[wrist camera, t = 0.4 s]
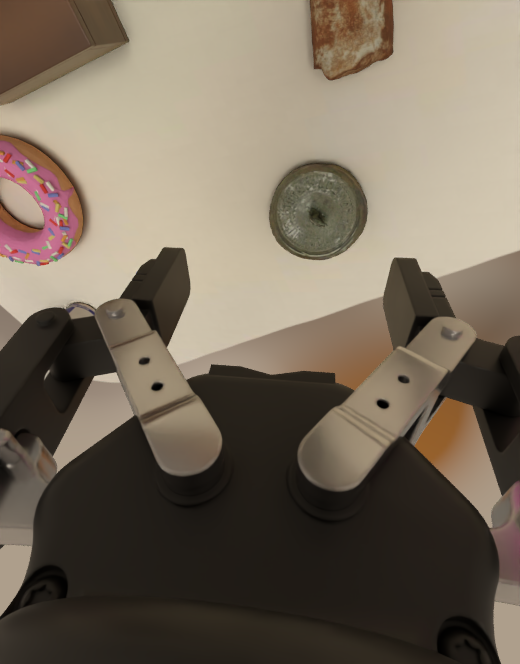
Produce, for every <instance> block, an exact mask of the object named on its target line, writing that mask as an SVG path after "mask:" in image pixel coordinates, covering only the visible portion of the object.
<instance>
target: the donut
mask: <svg viewBox="0 0 520 664" xmlns="http://www.w3.org/2000/svg"><path fill="white" fill-rule="evenodd" d="M0 177H2V178H6V179H9V180H11V181H13V182H15V183H17V184H19V185H20V186H22V187H23V188H24V189H25V190H26V191H28V192H29V193H30V194H31V195H32V196H33V198H34V199H35V200H36V201H37V203H38V205H39V206H40V208H41V210H42V212H43V215H44V220H45V225H44V228H43V229H42V230H38V229H34V228H30V227H28V226H26V225H23V224H21V223H20V222H18V221H17V220H15V219H14V218H13V217H12V216H11V215H9V214H8V213H7V212H6V210H5V209H4V208H3V207H2V206H1V204H0V256H2V257H6V258H7V257H8V258H9V259H10V260H11V261H12V262H13V261H14V260H15V262H18V263H24V262H26V263H31V264H37V265H38V266H40V265H46V264H49V262H52V261H55V262H56V261H58V260H59V259H60V258H62V257H64V256H65V255H67V254H68V253H69V252H71V251H72V249H73V248H74V247H75V246H76V245H77V243H78V241H79V239H80V236H81V233H82V228H83V215H82V209H81V205H80V201H79V198H78V196H77V194H76V192H75V190H74V187H73V186H72V184H71V183H70V181H69V180H68V178H67V177H66V176H65V174H64V173H63V172H62V171H61V169H60V168H59V167H58V166H57V165H56V164H55V163H54V162H53V161H52V160H51V159H50V158H49V157H47V156H46V155H45V154H44V153H42V152H41V151H40V150H38V149H37V148H35V147H33V146H32V145H30V144H27V143H25V142H23V141H21V140H18V139H15V138H12V137H8V136H4V135H0ZM13 259H14V260H13Z"/></svg>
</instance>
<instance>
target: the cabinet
mask: <svg viewBox="0 0 520 664" xmlns="http://www.w3.org/2000/svg"><path fill="white" fill-rule="evenodd" d="M127 42H129V40H128V37H127V35H126V33H125V31H124V29H123V26H122V24H121V22H120V20H119V18H118V15H117V13H116V11H115V9H114V7H113V4H112V2H111V0H0V106H1V105H4V104H8V103H11V102H13V101H15V100H17V99H19V98H21V97H23V96H25V95H27V94H29V93H31V92H33V91H35V90H36V89H38V88H40V87H42V86H44V85H46V84H48V83H50V82H52V81H54V80H56V79H58V78H60V77H62V76H64V75H65V74H67V73H69V72H71V71H73V70H75V69H77V68H79V67H81V66H83V65H85V64H87V63H89V62H91V61H93V60H94V59H96V58H98V57H100V56H102V55H104V54H106V53H108V52H110V51H112V50H114V49H116V48H118V47H120V46H121V45H123V44H125V43H127Z"/></svg>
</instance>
